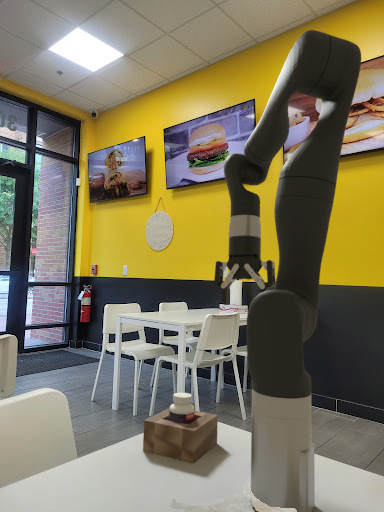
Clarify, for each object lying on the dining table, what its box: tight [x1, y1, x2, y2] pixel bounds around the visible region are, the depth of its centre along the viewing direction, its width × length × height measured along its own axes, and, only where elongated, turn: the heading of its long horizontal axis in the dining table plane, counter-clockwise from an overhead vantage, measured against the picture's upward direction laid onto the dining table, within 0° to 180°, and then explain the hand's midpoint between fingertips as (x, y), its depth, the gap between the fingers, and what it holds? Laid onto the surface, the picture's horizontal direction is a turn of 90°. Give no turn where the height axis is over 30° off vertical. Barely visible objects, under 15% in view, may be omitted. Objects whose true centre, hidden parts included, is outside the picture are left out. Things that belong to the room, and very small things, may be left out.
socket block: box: [142, 407, 219, 464], centre depth 79 cm, size 12×12×6 cm
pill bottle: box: [169, 392, 195, 425], centre depth 79 cm, size 5×5×10 cm
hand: (243, 305), depth 87 cm, fingers open, 8 cm apart
